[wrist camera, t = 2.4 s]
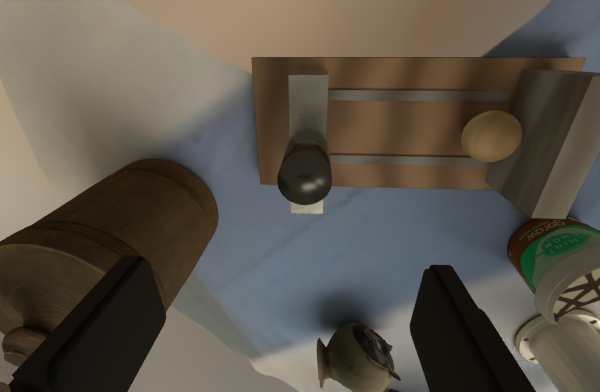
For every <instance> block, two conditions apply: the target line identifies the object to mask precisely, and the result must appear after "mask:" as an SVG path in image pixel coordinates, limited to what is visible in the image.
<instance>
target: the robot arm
mask: <svg viewBox="0 0 600 392" xmlns="http://www.w3.org/2000/svg"><path fill="white" fill-rule="evenodd" d="M165 320H166V312H165V309H164V306H163V303H162V299H161V296H160V293H159V290H158V287H157V284H156V281H155V278H154V275H153V271H152V268H151V265H150V263H149V261H148V260H146V259H145V257H143V256H135V255H125V256H122V257H121V258H120V259H119V260H118V261H117V262H116V263H115V265H114V266H113V267H112V268H111V269H110V270H109V271H108V272H107V273H106V274H105V275H104V276H103V277H102V279H101V280H100V281H99V282H98V283H97V284H96V285H95V286H94V287H93V288H92V289H91V290H90V291H89V293H88V294H87V295H86V296H85V297H84V298H83V299H82V300H81V301H80V302H79V303H78V304H77V305H76V307H75V308H74V309H73V310H72V311H71V312H70V313H69V314H68V315H67V316H66V317H65V318H64V320H63V321H62V322H61V323H60V324H59V325H58V326H57V327H56V328H55V329H54V330H53V331H52V332H51V334H50V335H49V336H48V337H47V338H46V339H45V340H44V341H43V342H42V343H41V344H40V345H39V346H38V348H37V349H36V350H35V351H34V352H33V353H32V354H31V355H30V356H29V357H28V358H27V359H26V361H25V362H24V363H23V364H22V365H21V366H20V367H19V368H18V369H17V370H16V371H15V372H14V373H13V375H12V376H13V377H14V379H13V380H12V381H11V382H10V383H9V385H7V384H6V383H4V382H0V392H127V391H128V390H129V388H130V386H131V384H132V382H133V380H134V378H135V377H136V375H137V373H138V371H139V369H140V368H141V366H142V364H143V362H144V360H145V358H146V357H147V355H148V353H149V351H150V349H151V348H152V346H153V344H154V342H155V340H156V338H157V337H158V335H159V333H160V331H161V329H162V327H163V326H164V323H165ZM555 321H556V322H557V324H558V325H559V327H560V328H559V327H558V326H557V325H556V324H555V323H554V324H552V323H551V322H550V321H549V320H548V319H546V318H545V317H544V316H543V315H541V316H539V317H537V318H535V319H533V320H531V321H530V322H528V323H527V324H526V325H525V326H524V327H523V328H522V329H521V330H520V331H519V333H518V335H517V337H516V340H515V344H516V348H517V350H518V351H519V353H520V354H521V356H522V357H524V358H525V359H526V360H528V361H530V362H533V363H536V364H540V366H541V367H542V369H543V370H544V371H545V373H546V374H547V376H548V377H549V378H550V380H551V381H552V383H553V384H554V386H555V387H556V388H557V390H558V391H559V392H600V319H599V318H598V317H597V316H595V315H594V314H592V313H590V312H587V311H583V310H576V309H574V310H572V311H570V312H568V313H566V314H565V315H563V316H562V317H559V318H557V319H556V320H555ZM410 332H411V336H412V339H413V342H414V345H415V348H416V351H417V354H418V357H419V360H420V363H421V366H422V369H423V372H424V375H425V378H426V381H427V384H428V387H429V390H430V392H536V391H535V390H534V388H533V386H532V385H531V383H530V382H529V380H528V379H527V377H526V376H525V374H524V372H523V371H522V369H521V368H520V366H519V365H518V363H517V362H516V360H515V358H514V357H513V355H512V354H511V352H510V351H509V349H508V348H507V346H506V344H505V343H504V341H503V340H502V338H501V337H500V335H499V333H498V332H497V330H496V329H495V327H494V326H493V324H492V323H491V321H490V319H489V318H488V316H487V315H486V314H485V313H484V311H482V310H481V309H479V308H478V307H477V305H476V304H475V302H474V301H473V299H472V297H471V296H470V294H469V293H468V291H467V289H466V288H465V286H464V285H463V283H462V281H461V280H460V278H459V277H458V275H457V273H456V272H455V270H454V269H453V267H452V266H450V265H431V266H430V268H429V269H425V270H424V273H423V277H422V281H421V285H420V288H419V292H418V296H417V299H416V303H415V307H414V311H413V314H412V318H411V322H410Z"/></svg>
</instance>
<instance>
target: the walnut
mask: <svg viewBox="0 0 600 392" xmlns="http://www.w3.org/2000/svg"><path fill="white" fill-rule="evenodd" d="M521 139H522V128H521V125H520V123H519V121H518V120H517V119H516V118H515V117H514V116H513V115H511V114H509V113H507V112H503V111H487V112H484V113H481V114H479V115H477V116H475V117H474V118H472V119H471V120H470V121H469V122H468V123H467V125H466V126H465V128H464V130H463V133H462V138H461V141H462V146H463V148H464V150H465V152H466V153H467V154H468V155H469V156H470V157H472V158H474V159H476V160H478V161H482V162H494V161H499V160H502V159H504V158H506V157H508V156H509V155H511V154H512V153H513V152H514V151H515V150H516V149H517V148H518V146H519V144H520V142H521Z"/></svg>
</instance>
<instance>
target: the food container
mask: <svg viewBox="0 0 600 392" xmlns="http://www.w3.org/2000/svg"><path fill="white" fill-rule="evenodd" d="M507 255H508V258H509V259H510V261H511V262H512V264H513V265H514V267H515V268H516V269H517V271H518V272H519V274H520V275H521V277H522V278H523V279H524V281H525V282H526V284H527V285H528V286H529V288H530V289H531V291H532V292H533V293H534V295H535V304H536V307H537V309H538V311H539V312H540V313H541V314H542V315H543V316H544V317H545V318H546V319H548V320H549V321H550V322H551V323H552V324H554V323H555V324H556V325H557V326H558V327H559V325H558V324H557V322H556V321H555V320H556V319H557V318H559V317H562V316H563V315H565V314H566V313H568V312H570V311H572V310H574V309H577V308H579V307H581V306H584V305H587V304H590V303H593V302H596V301H599V300H600V231H598V230H596V229H595V228H593V227H591V226H589V225H587V224H585V223H583V222H581V221H579V220H577V219H575V218H572V217H570V216H566V218H565V219H546V218H534V219H532V220H530V221H528V222H526V223H524V224H523V225H522V226H520V227H519V228H518V229H517V230H516V231H515V232H514V233H513V235H512V236H511V238H510V239H509V242H508V245H507ZM559 328H560V327H559Z"/></svg>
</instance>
